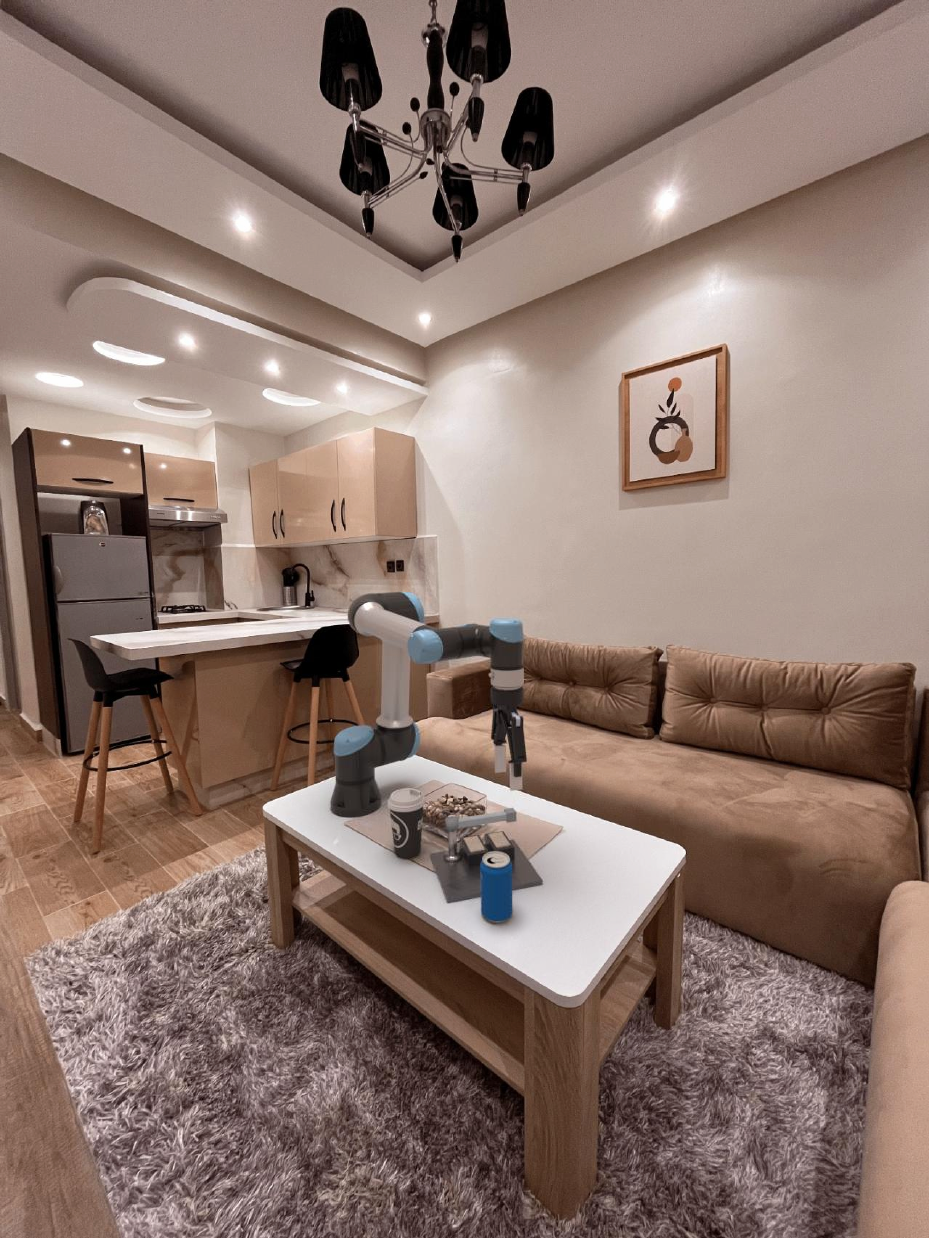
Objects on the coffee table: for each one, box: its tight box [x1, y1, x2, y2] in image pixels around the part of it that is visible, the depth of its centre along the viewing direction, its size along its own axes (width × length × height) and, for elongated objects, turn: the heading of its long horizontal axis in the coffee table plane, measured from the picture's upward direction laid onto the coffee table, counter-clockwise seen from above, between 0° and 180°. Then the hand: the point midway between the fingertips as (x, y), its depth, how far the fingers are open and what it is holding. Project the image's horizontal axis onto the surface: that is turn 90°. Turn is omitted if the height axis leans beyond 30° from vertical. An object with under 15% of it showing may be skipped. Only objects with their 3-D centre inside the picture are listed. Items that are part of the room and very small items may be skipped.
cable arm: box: [445, 807, 517, 831], centre depth 123 cm, size 3×18×2 cm, turn 105°
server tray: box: [429, 830, 543, 904], centre depth 118 cm, size 18×22×8 cm
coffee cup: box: [386, 787, 426, 860], centre depth 125 cm, size 10×10×15 cm
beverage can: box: [480, 851, 514, 924], centre depth 102 cm, size 6×6×12 cm
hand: (508, 780), depth 116 cm, fingers open, 10 cm apart
